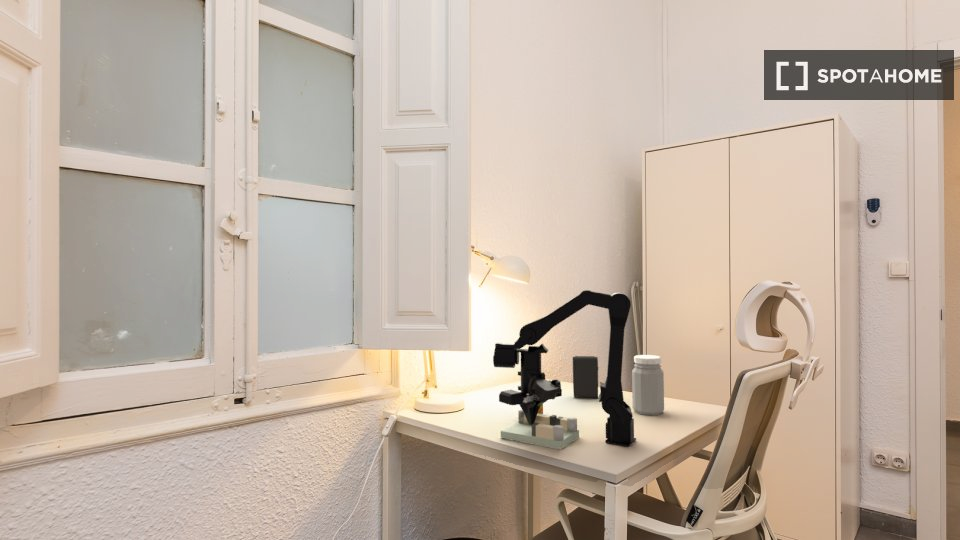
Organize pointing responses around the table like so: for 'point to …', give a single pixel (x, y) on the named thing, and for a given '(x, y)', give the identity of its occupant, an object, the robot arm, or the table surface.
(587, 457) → the table surface
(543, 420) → the hinged leg
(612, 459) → the table surface
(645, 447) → the table surface
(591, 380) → the card reader
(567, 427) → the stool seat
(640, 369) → the jar
